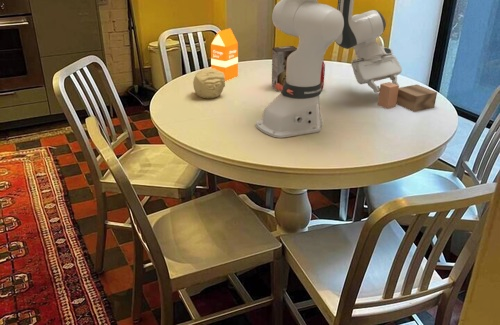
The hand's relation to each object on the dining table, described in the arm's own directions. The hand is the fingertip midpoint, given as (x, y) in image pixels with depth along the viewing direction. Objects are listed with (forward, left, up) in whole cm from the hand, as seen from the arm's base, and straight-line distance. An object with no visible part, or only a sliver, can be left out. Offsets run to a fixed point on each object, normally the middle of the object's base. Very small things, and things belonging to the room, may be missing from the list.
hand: (387, 89), depth 174 cm
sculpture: (-50, +43, -6) cm, 66 cm away
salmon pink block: (0, -1, -6) cm, 6 cm away
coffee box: (-20, +35, -6) cm, 41 cm away
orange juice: (-33, +60, -6) cm, 69 cm away
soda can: (-11, +27, -6) cm, 30 cm away
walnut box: (+9, -6, -6) cm, 12 cm away
